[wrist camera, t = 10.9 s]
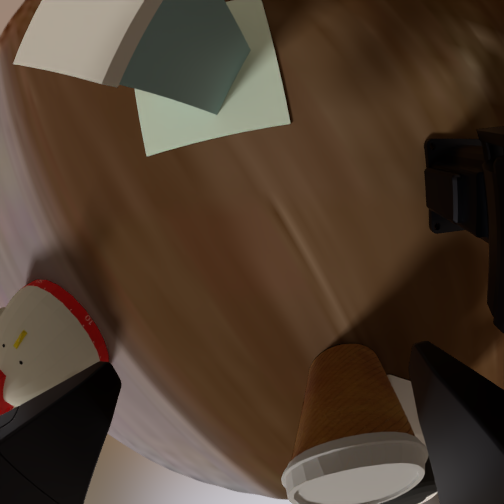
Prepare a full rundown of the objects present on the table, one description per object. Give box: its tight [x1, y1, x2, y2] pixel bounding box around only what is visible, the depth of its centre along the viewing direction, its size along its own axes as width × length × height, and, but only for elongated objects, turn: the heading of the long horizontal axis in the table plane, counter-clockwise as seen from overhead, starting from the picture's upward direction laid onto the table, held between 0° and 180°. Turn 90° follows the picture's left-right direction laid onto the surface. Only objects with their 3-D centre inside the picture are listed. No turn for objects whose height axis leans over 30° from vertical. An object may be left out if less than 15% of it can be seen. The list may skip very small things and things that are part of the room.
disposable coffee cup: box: [281, 344, 428, 504], centre depth 17 cm, size 10×10×12 cm
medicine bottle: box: [380, 375, 438, 504], centre depth 18 cm, size 7×7×12 cm
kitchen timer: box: [0, 279, 109, 415], centre depth 20 cm, size 14×14×15 cm
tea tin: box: [13, 0, 251, 115], centre depth 10 cm, size 5×5×12 cm
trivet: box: [135, 0, 291, 156], centre depth 16 cm, size 10×10×1 cm
